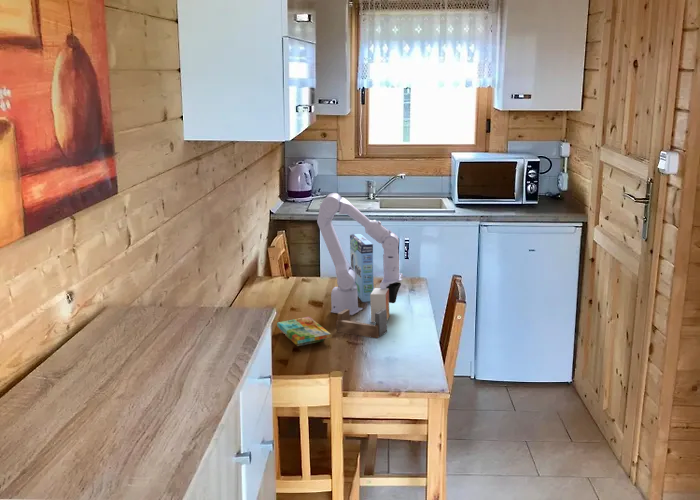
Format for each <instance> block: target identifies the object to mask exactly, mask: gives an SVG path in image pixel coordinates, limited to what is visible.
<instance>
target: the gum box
mask: <svg viewBox="0 0 700 500" xmlns="http://www.w3.org/2000/svg"><path fill="white" fill-rule="evenodd" d="M349 241H350V242H349V245H350V246H349V249H350V251H349V254H350V265H351V267H352V269H354V270H355V272H356V274H357V278H356V280H355V284H356V286H357V294H358V299H359V300H360V301H361V303H369V302H370V303H371V301H370V294H371V293H372V291H373V289H374V288H375V286H374V285H375V284H374V281H375V280H374V244H373V242H371V241H370V240H368V239H367V238H366V237H365V236H364V235H362V234H361V233H355V234H354V233H352V234H349Z"/></svg>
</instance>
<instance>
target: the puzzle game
mask: <svg viewBox="0 0 700 500" xmlns="http://www.w3.org/2000/svg"><path fill="white" fill-rule="evenodd" d="M276 327H277V328H278V329H279V330H280V331H281V333H282V334H283V335H284V334H285V335H284V336H285V337H287V339H289V340H290V341H291V342H292V343H293V344H294V345H295V346H296V347H300V346H305V345H310V344H315V343H320V342H324V341H325V340H326V339H330V338H332V334H331V333H330V331H328V330H327V329H325V328H324V327H323V326H322V325H320V323H318V322H316V320H314V319H313V318H312V317H311V316H305V317H300V318H295V319H294V318H293V319H290V320H288V319H287V320H282V321H278V322H276Z"/></svg>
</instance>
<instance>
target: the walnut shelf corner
mask: <svg viewBox="0 0 700 500" xmlns="http://www.w3.org/2000/svg"><path fill="white" fill-rule="evenodd" d="M335 322H336V325H335V326H336V332H337V333H342V334H343V333H344V334H348V335H355V336H360V337H366V338H372V339H378V338H380V337H379V325H375V324H371V323H365V322H360V321H359V322H358V321H351V315H350V310H349V309H345V310H343V311H341V312H340V313H337V320H336V321H335Z"/></svg>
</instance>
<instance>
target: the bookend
mask: <svg viewBox="0 0 700 500" xmlns="http://www.w3.org/2000/svg"><path fill="white" fill-rule="evenodd" d="M374 325H379V337H378V338H380V337H382V336H383V335H385V334H386V333H388V320H387V309H381V310H380V311H378V312H377V313H375V322H374Z"/></svg>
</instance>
